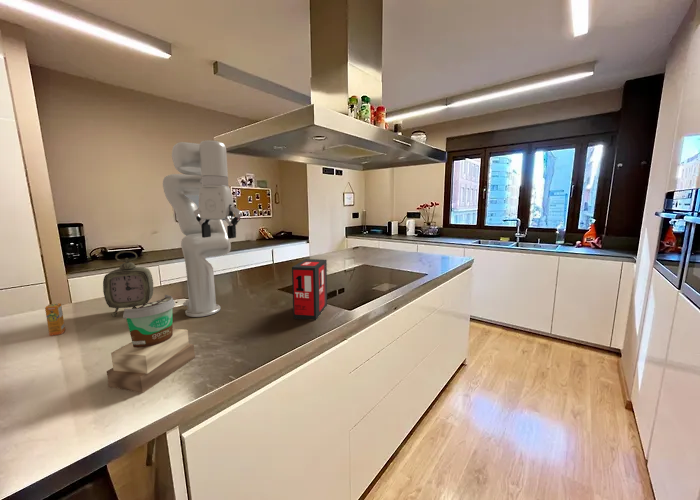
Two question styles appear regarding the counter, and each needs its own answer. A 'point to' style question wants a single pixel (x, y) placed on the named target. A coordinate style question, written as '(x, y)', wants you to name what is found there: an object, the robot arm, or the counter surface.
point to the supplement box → (55, 319)
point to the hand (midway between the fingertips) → (219, 237)
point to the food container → (151, 322)
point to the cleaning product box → (309, 288)
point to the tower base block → (150, 373)
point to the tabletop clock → (127, 285)
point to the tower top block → (148, 354)
